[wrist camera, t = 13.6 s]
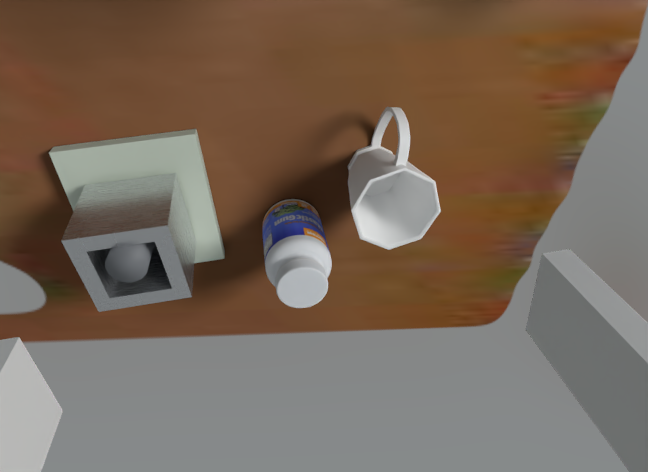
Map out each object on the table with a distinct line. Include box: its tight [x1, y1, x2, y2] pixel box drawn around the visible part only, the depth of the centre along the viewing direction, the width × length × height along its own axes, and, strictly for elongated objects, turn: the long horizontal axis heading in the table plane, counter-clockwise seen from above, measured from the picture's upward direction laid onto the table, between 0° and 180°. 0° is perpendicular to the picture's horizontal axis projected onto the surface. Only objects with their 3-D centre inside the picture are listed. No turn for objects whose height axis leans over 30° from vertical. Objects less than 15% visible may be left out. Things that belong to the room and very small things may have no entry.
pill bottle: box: [262, 199, 332, 308], centre depth 40 cm, size 5×5×10 cm
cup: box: [347, 107, 441, 250], centre depth 38 cm, size 7×10×8 cm
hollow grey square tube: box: [61, 173, 196, 312], centre depth 37 cm, size 7×7×7 cm
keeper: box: [49, 129, 225, 282], centre depth 37 cm, size 12×11×9 cm
